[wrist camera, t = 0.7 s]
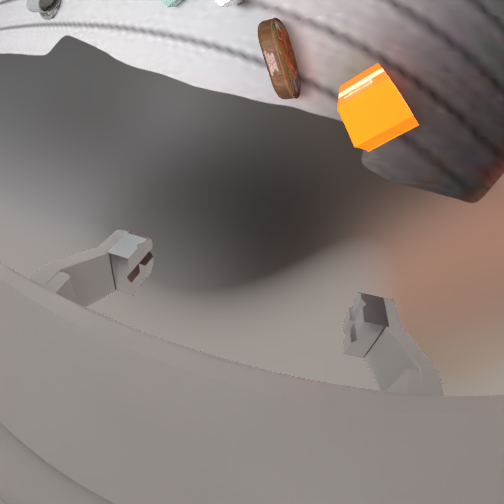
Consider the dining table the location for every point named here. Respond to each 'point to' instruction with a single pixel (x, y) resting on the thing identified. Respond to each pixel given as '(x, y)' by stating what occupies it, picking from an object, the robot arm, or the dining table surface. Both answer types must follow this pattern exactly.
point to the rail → (171, 2)
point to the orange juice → (373, 109)
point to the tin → (279, 58)
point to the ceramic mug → (43, 7)
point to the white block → (228, 2)
